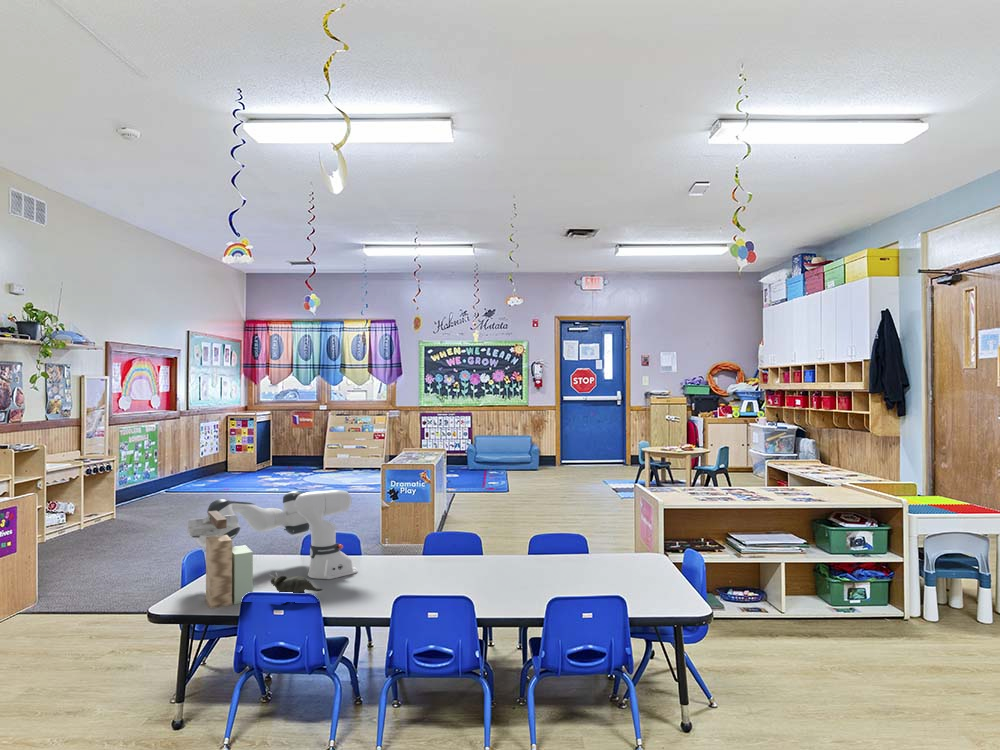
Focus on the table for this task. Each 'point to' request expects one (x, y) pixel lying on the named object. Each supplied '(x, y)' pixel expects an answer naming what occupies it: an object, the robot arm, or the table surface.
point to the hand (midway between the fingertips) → (215, 516)
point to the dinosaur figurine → (292, 584)
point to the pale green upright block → (241, 572)
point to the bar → (217, 519)
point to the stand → (218, 571)
